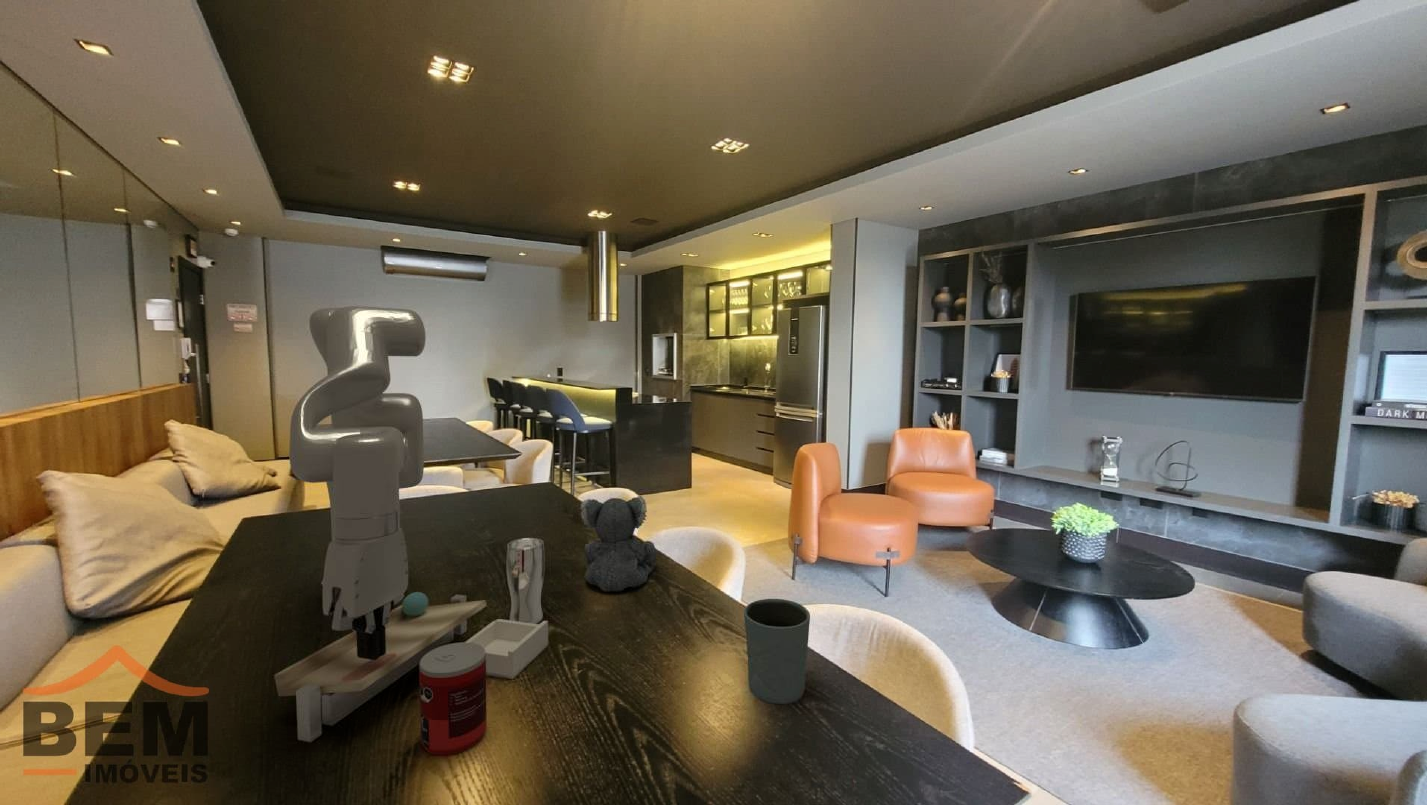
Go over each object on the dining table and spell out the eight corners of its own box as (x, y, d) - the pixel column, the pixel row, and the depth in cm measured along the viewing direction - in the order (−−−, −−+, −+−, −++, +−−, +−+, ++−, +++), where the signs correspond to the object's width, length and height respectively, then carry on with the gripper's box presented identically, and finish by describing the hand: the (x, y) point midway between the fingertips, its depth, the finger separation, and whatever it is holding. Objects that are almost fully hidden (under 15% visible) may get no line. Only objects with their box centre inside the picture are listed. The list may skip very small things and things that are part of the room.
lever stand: (457, 629, 101) (456, 594, 100) (466, 630, 100) (466, 595, 100) (297, 739, 71) (296, 690, 71) (310, 742, 71) (308, 693, 70)
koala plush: (657, 565, 135) (658, 487, 133) (651, 596, 117) (652, 506, 116) (587, 564, 134) (587, 486, 133) (570, 595, 116) (569, 505, 115)
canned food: (435, 718, 76) (433, 642, 75) (494, 716, 76) (493, 640, 76) (409, 758, 68) (407, 673, 67) (475, 755, 69) (474, 671, 68)
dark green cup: (791, 715, 78) (793, 634, 77) (730, 692, 83) (731, 615, 82) (817, 681, 86) (820, 607, 85) (760, 661, 92) (762, 592, 91)
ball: (398, 620, 94) (395, 597, 93) (415, 610, 98) (412, 588, 97) (417, 620, 93) (414, 597, 93) (434, 610, 97) (431, 588, 96)
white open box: (453, 669, 88) (453, 643, 87) (494, 637, 98) (494, 613, 98) (513, 679, 85) (512, 652, 85) (548, 645, 96) (547, 621, 95)
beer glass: (533, 630, 101) (532, 550, 100) (499, 625, 103) (498, 547, 101) (551, 613, 108) (551, 539, 107) (519, 609, 109) (519, 536, 108)
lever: (421, 614, 100) (418, 595, 100) (487, 607, 97) (484, 588, 97) (277, 700, 74) (272, 675, 74) (361, 695, 71) (355, 669, 71)
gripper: (388, 509, 82) (391, 627, 84) (292, 539, 68) (297, 682, 69) (431, 512, 81) (434, 633, 82) (342, 545, 66) (346, 691, 67)
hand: (371, 655), depth 75 cm, fingers closed
